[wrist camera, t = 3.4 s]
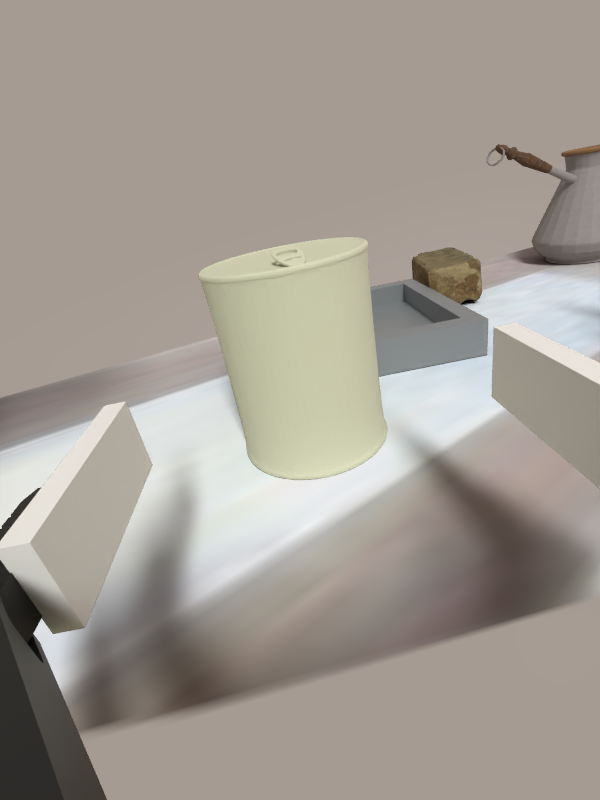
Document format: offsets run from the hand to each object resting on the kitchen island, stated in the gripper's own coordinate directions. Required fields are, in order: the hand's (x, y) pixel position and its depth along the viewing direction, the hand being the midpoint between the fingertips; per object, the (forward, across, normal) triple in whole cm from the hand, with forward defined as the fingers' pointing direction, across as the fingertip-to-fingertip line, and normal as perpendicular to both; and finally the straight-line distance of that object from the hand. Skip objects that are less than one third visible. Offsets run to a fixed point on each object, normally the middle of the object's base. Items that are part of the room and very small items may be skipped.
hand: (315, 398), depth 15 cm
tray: (+26, +5, -8) cm, 28 cm away
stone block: (+36, +19, -8) cm, 42 cm away
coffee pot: (+40, +35, -8) cm, 53 cm away
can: (+10, 0, -8) cm, 13 cm away
